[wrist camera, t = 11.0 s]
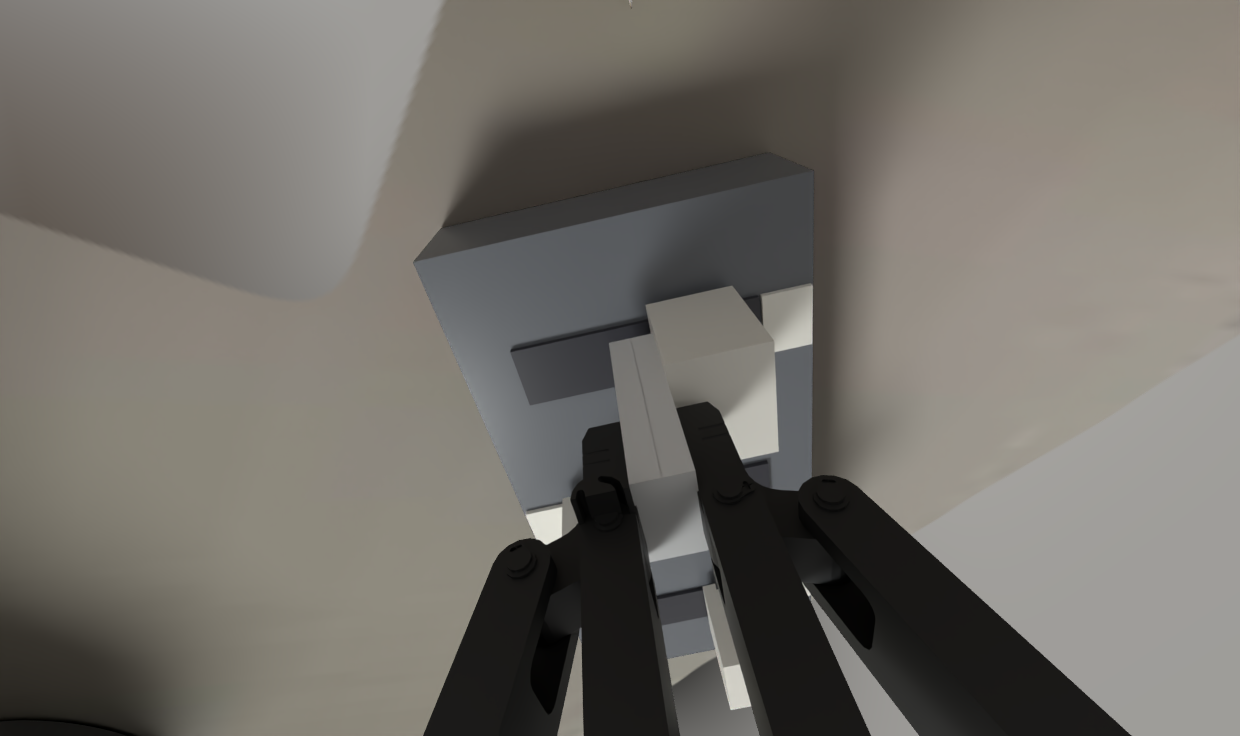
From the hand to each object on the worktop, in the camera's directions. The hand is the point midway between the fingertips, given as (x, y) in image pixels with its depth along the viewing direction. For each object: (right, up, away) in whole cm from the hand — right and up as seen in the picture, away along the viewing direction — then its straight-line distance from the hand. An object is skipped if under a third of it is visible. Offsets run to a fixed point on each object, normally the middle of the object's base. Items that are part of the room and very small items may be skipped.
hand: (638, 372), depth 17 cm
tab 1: (+2, +1, +1) cm, 2 cm away
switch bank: (+1, -4, +9) cm, 10 cm away
